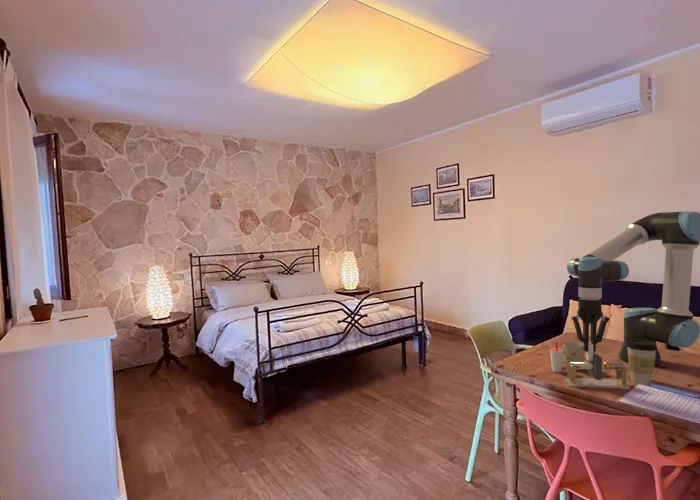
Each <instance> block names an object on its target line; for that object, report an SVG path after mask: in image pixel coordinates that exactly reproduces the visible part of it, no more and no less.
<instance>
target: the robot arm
mask: <svg viewBox="0 0 700 500" xmlns="http://www.w3.org/2000/svg"><path fill="white" fill-rule="evenodd" d="M651 241H661V245H662V246H663V247H664V249H665V258H664V259H665V260H664V271H663V272H664V273H663V282H662V283H663V285H662V295H661V297H662V298H661V299H662V300H661V307H659V308H657V309H656V308H653V307H631V308H626V309H625V310H624V313H623V341H622V342H623V343H622V344H621V347H620V349H619V352H618V359H620V360H621V361H623V362H626V363H629V360H628V348H627V346H626V343H628V340H630V339H642V340H648V341H652V342H654V343H655V344H656V346H657V343H662V344H664V345H668V346H671V347H677V348H682V349H683V348H684V349H685V348H690V347H691V346H693V345H694V344H695V343H696V342H697V341H698V339H699V336H700V325H699V322H697V321H696V320H694V314H693V313H692V312H691V311H690V310H689V309H690V297H691V287H692V285H691V284H692V274H693V272H692V271H693V261H694V260H693V259H694V251H695V250H696V248H698V247H700V212H698V211H687V210H684V211H670V212H656V213H651V214H648V215H646V216H644V217H641V218H639V219H637V220H635V221H634V222H632V223H631V224H629V225H628V226H627V227H626V228H625V230H624V231H623V232H621V233H620V234H618V235H616V236H614V237H613V238H611V239H610V240H608V241H606V242H605V243H603V244H601V245H599V247H597V248H596V249H595V248H594V249H593V250H591V251H590V252H589V253H587V254H586V255H584V256H582V257H580V258H579V257H576V258H573V257H572V258H571V259H569V260H568V262H567V264H566V271H567V272H568V274H569V275H571V276H572V277H577V278H578V301H577V304H578V310H577V312H576V314H574V315H570V319H571V320H572V322H573V325H574V329H575V332H576V336H577V340H578V341H580V343H581V342H582V344H584V347H583V349H584V351H585V359H586V360H587V362H588V361H593V352H595V353H596V351H597V344H598V343H602V342H603V338H604V334H605V331H606V326H607V324H608V322H610V317H608V316H607V315H604V312H603V311H602V310H603V309H602V306H603V305H602V301H603V300H602V297H603V296H602V295H603V294H602V292H603V290H602V287H603V285H602V284H603V282H618V281H622V280H625V279H626V278H627V277H629V274H630V268H629V265H628V264H627V263H626V262H624V261H622V260H617V258H619V257H620V256H623V255H624V254H625V253H627V252H629V251H630V250H632V249H633V248H635V247H637V246H639V245H644V244H646V243H647V242H648V243H649V242H651ZM579 320H581V321H582V329H581V324H580V322H579ZM599 321H600V322H599ZM598 322H599V325H598ZM597 326H598V328H597ZM657 347H658V346H657ZM655 356H656V357H655V363H654V367H655V366H659V365H662V357H661V354H660V351H659V349H657V350H656V354H655Z"/></svg>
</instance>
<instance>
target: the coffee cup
mask: <svg viewBox="0 0 700 500" xmlns="http://www.w3.org/2000/svg"><path fill="white" fill-rule="evenodd" d="M656 345H657V343H656V344H655V343H654V342H652V341H648V340H642V339H630V340H628V343H626V346H627V348H628V360H629V362H628V366H629V371H630V379H631V381H633V382H636V383H639V384H650V382H651V383H652V377H653V373H654V368H655V366H654V363H655V357H656V356H655V354H656V350H657V349H658V346H656ZM658 350H659V349H658Z"/></svg>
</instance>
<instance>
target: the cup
mask: <svg viewBox="0 0 700 500" xmlns="http://www.w3.org/2000/svg"><path fill="white" fill-rule="evenodd" d="M549 352H550V353H549V354H550V362H551V371H552V372H554V373H562V372H563V371H562V370H563V364H564V363H563V361H564V350H563V349H560V348H559V347H558V342H555V347H550V348H549Z"/></svg>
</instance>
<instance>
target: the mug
mask: <svg viewBox="0 0 700 500" xmlns="http://www.w3.org/2000/svg"><path fill="white" fill-rule="evenodd" d="M583 347H584V343H583V342H582V343H581V342H577V341H564V342H562V347H561V346H560V347H558V348H560V349H563V350H564V354H563V358H564V360H563V363H562V364H565V367H566V368H567V363H570V362H584V358H585V354H586V352H585V351H584V349H583ZM581 370H582V369H577V368H576V371H581Z"/></svg>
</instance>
